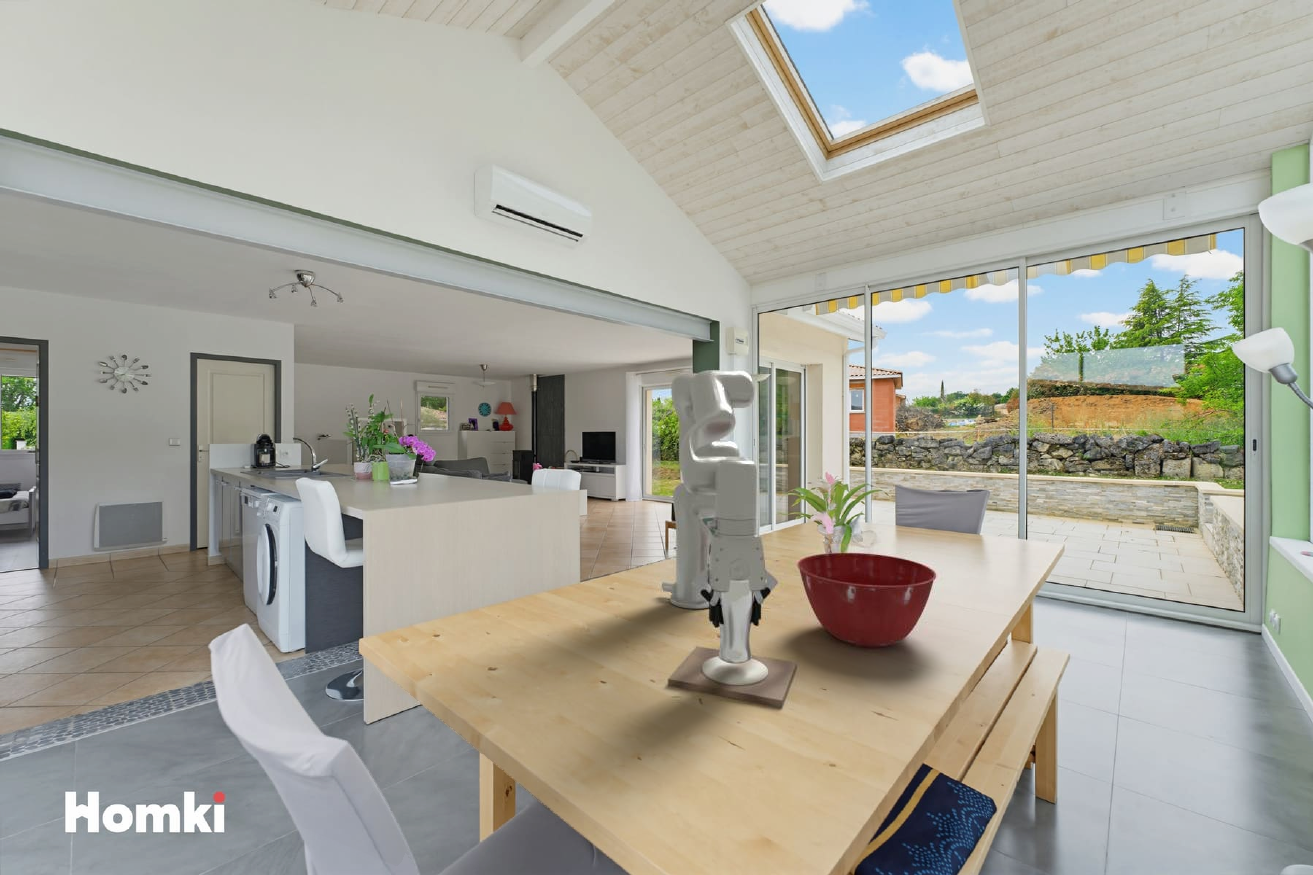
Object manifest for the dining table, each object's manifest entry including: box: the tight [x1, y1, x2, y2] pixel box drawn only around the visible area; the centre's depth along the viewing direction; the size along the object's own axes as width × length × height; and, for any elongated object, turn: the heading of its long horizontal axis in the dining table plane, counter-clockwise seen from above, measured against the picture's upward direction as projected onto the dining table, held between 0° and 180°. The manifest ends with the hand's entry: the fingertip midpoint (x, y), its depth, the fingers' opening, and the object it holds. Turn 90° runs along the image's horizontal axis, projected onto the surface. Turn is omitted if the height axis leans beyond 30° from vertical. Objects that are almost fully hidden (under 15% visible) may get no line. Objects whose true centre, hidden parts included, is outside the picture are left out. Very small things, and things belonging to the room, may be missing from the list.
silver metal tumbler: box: [717, 580, 754, 664], centre depth 101 cm, size 7×7×15 cm
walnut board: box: [667, 645, 798, 709], centre depth 101 cm, size 20×16×2 cm
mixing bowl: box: [796, 552, 937, 648], centre depth 122 cm, size 28×28×16 cm
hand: (734, 623), depth 101 cm, fingers closed on silver metal tumbler, 6 cm apart
